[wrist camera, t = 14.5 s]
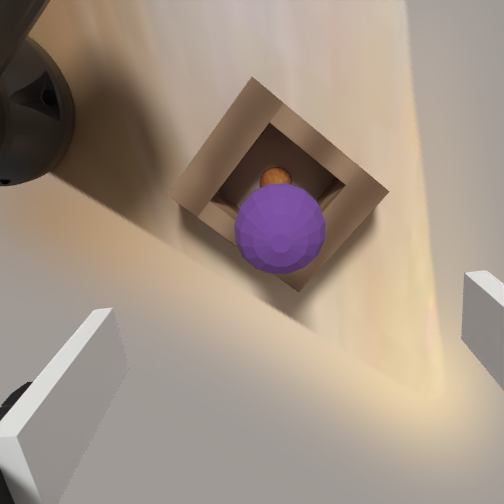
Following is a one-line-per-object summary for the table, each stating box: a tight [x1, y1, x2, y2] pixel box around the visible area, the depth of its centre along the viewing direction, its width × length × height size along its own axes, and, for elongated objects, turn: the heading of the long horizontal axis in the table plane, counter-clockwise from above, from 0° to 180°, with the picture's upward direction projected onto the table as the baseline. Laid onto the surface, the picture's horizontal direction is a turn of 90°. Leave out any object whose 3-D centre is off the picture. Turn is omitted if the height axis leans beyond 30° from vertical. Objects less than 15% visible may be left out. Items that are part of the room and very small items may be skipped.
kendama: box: [234, 167, 325, 274], centre depth 34 cm, size 6×6×20 cm
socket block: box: [168, 77, 389, 292], centre depth 42 cm, size 16×13×5 cm
